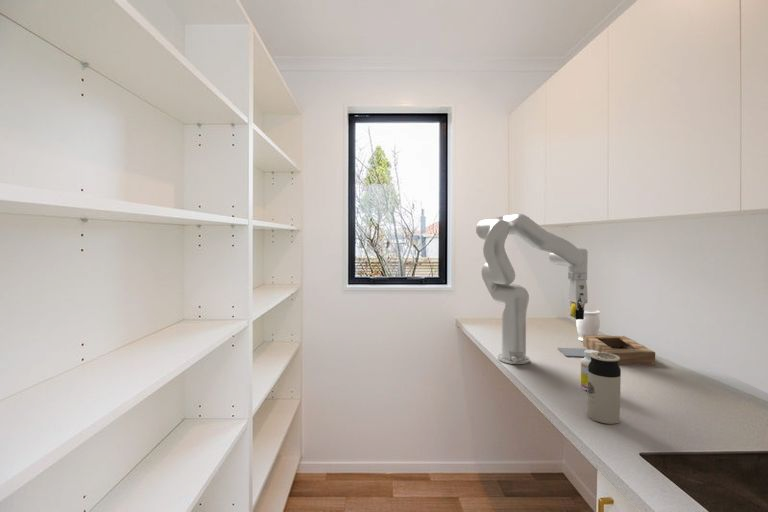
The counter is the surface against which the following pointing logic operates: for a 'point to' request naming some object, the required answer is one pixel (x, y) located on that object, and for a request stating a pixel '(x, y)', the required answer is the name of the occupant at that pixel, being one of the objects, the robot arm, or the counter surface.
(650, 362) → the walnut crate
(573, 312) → the lemon
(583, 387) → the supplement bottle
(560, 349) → the grey mat
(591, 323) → the jar
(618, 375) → the travel mug
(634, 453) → the counter surface
